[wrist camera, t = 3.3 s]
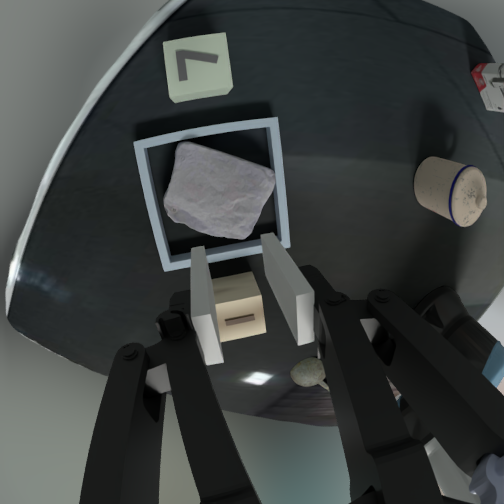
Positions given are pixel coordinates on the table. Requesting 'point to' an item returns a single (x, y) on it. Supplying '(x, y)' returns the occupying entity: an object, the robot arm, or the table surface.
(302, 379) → the soupspoon
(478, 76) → the ink box
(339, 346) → the robot arm
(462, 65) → the table surface
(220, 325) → the numbered birch block
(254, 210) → the stone block
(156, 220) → the slate-blue holder
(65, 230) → the table surface
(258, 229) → the table surface
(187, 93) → the numbered sage-green block
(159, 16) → the table surface
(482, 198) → the teacup with lid
